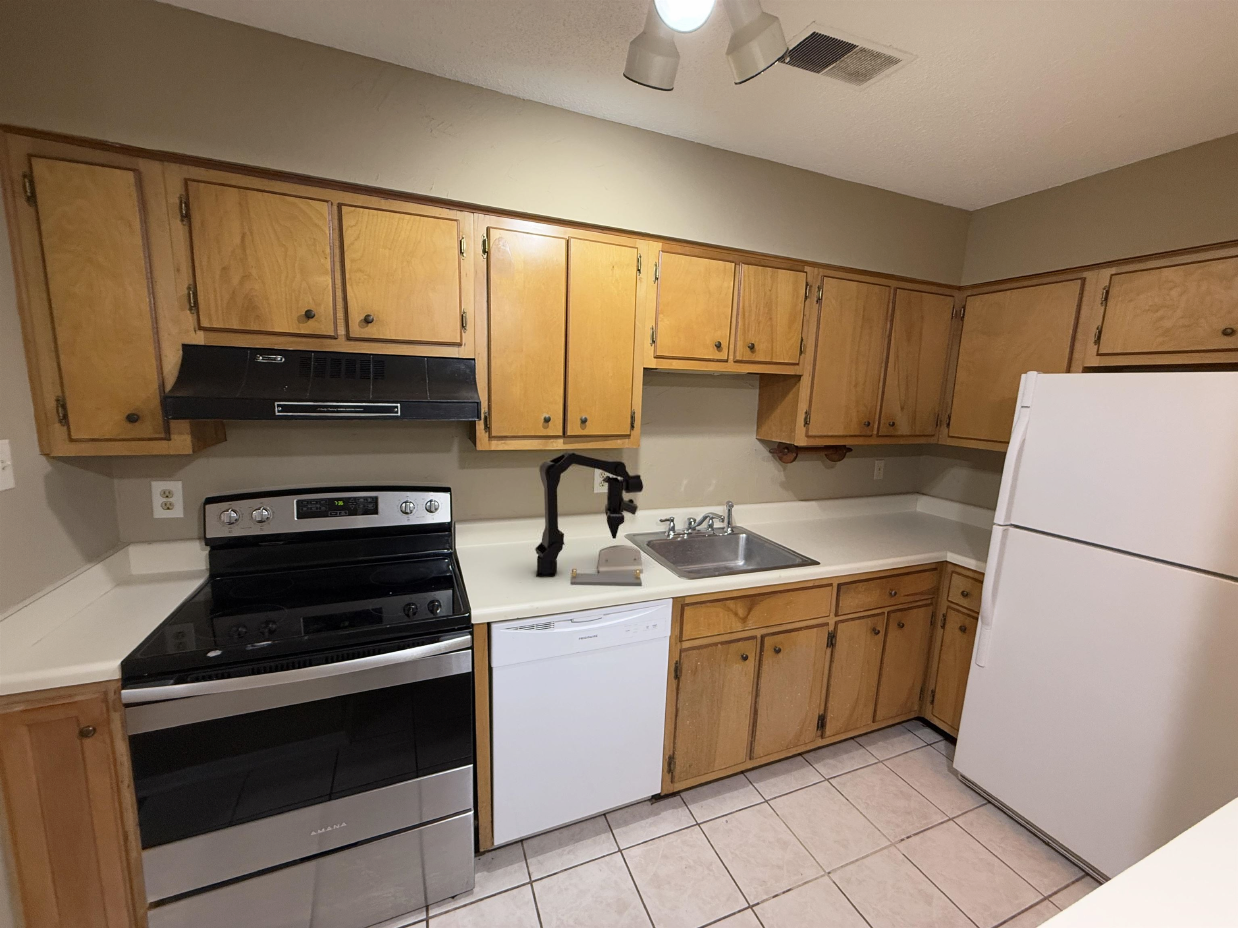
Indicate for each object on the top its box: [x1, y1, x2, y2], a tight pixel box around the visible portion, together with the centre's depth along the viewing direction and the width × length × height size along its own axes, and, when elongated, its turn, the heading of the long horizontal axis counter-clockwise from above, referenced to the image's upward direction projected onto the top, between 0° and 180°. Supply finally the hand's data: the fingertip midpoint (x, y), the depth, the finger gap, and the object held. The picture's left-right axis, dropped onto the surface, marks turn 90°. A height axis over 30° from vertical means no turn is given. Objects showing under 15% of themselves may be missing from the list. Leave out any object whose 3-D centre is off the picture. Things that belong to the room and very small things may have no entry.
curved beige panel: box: [596, 544, 644, 575], centre depth 183 cm, size 17×5×10 cm, turn 103°
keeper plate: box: [570, 568, 643, 587], centre depth 173 cm, size 24×8×4 cm, turn 94°
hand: (613, 534), depth 187 cm, fingers open, 9 cm apart
